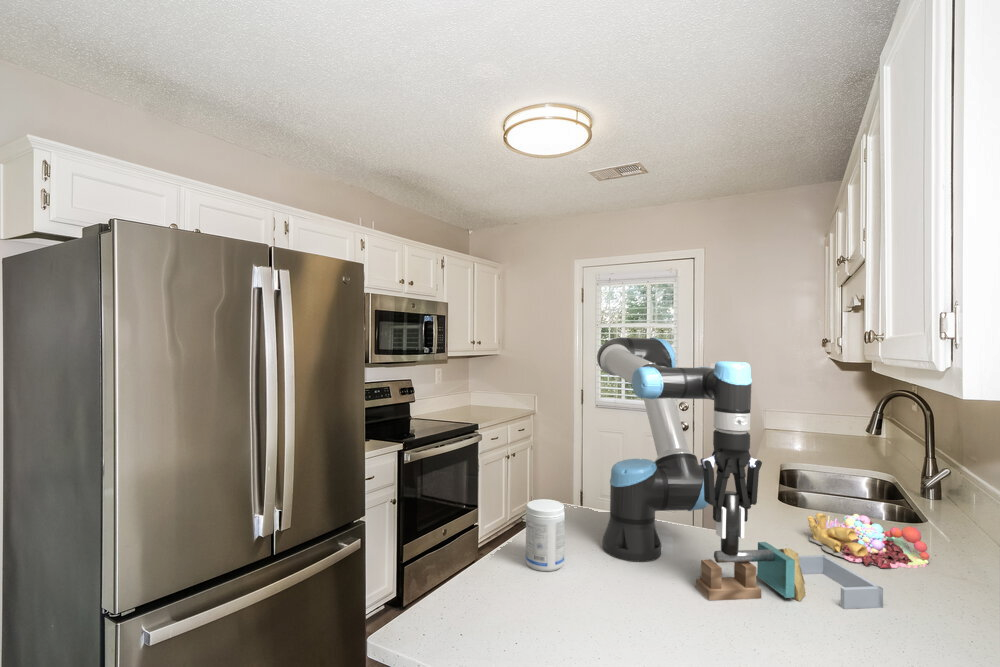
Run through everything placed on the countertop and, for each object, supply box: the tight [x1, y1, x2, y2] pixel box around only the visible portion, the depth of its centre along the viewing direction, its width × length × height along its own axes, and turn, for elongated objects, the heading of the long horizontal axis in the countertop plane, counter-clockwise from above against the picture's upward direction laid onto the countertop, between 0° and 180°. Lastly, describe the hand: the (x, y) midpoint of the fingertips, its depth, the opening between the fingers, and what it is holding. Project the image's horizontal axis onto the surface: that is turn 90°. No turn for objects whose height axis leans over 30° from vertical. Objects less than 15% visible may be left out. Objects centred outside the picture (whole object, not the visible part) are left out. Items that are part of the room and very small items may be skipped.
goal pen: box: [798, 554, 884, 610], centre depth 117 cm, size 9×17×4 cm, turn 7°
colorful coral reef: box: [807, 512, 930, 569], centre depth 140 cm, size 25×24×9 cm
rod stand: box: [695, 558, 762, 601], centre depth 114 cm, size 12×6×6 cm, turn 97°
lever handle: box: [713, 490, 795, 599], centre depth 115 cm, size 15×10×21 cm, turn 97°
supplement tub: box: [525, 498, 566, 572], centre depth 127 cm, size 10×10×15 cm
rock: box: [777, 547, 806, 602], centre depth 116 cm, size 10×8×10 cm
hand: (729, 535), depth 114 cm, fingers closed on lever handle, 4 cm apart
